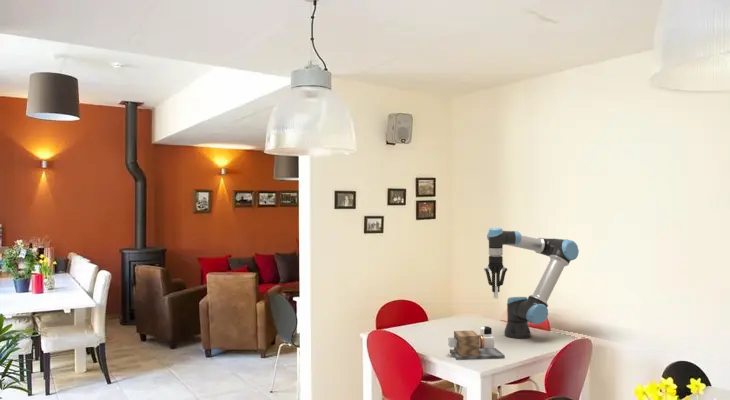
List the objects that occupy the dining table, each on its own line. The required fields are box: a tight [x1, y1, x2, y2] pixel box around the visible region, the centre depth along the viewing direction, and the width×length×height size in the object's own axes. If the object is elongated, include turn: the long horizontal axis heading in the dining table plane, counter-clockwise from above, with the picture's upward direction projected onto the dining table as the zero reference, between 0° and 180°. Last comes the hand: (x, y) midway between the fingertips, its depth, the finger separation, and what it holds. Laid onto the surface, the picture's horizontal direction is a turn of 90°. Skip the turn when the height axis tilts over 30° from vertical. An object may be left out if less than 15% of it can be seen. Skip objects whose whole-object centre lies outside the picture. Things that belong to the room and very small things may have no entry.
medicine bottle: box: [479, 326, 495, 349], centre depth 295 cm, size 7×7×12 cm
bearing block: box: [449, 330, 506, 361], centre depth 283 cm, size 25×14×12 cm, turn 95°
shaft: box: [448, 334, 484, 349], centre depth 283 cm, size 18×7×7 cm, turn 95°
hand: (495, 297), depth 303 cm, fingers closed
